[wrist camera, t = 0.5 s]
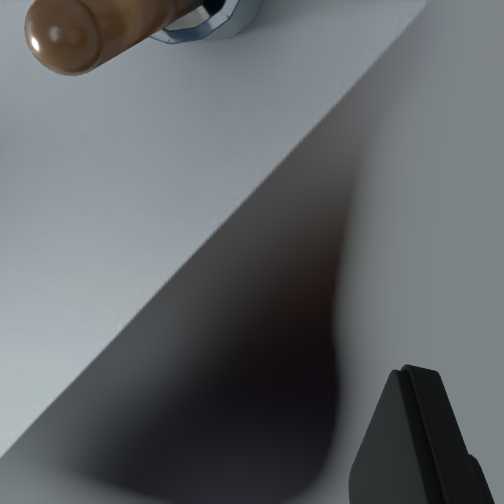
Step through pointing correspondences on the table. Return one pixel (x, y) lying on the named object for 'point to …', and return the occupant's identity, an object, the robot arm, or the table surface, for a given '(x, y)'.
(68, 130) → the table surface
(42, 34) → the stick
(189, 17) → the holder
